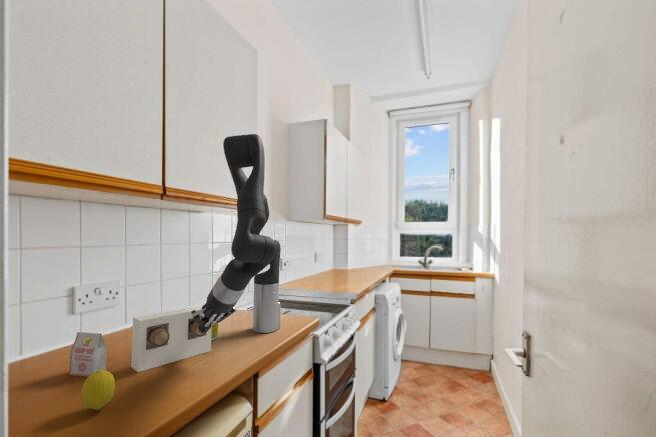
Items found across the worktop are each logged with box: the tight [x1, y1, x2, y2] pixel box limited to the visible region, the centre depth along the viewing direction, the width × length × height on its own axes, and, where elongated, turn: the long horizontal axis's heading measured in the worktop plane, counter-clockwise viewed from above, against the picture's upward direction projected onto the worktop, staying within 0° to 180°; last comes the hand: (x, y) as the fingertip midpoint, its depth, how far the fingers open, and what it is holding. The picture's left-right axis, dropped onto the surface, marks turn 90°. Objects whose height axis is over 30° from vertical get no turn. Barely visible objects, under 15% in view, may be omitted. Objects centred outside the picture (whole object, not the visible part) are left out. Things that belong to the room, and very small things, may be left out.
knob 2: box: [188, 320, 206, 337], centre depth 93 cm, size 4×6×4 cm
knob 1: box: [148, 327, 170, 347], centre depth 85 cm, size 4×6×4 cm
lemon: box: [80, 369, 116, 412], centre depth 64 cm, size 6×6×8 cm
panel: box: [130, 304, 212, 373], centre depth 90 cm, size 20×5×13 cm, turn 139°
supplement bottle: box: [211, 322, 219, 341], centre depth 107 cm, size 5×5×10 cm
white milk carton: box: [68, 331, 108, 378], centre depth 80 cm, size 4×7×10 cm, turn 81°
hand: (202, 330), depth 91 cm, fingers closed
